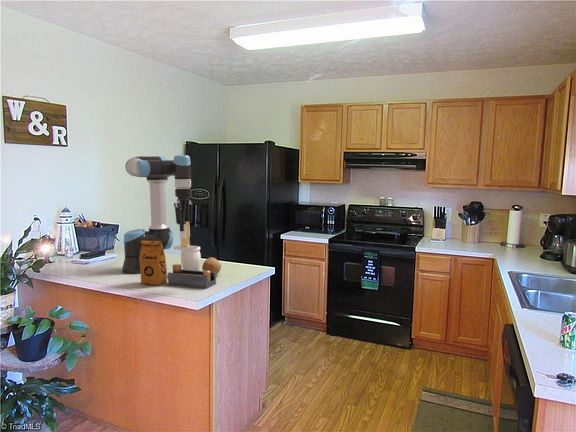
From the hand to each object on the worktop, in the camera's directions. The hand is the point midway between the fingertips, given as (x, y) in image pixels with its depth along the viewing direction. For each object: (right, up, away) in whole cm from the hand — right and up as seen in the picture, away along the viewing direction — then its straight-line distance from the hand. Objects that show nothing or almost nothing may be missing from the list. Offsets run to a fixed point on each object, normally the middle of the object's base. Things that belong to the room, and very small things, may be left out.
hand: (185, 237), depth 203 cm
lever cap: (0, -6, +1) cm, 6 cm away
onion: (+8, -22, +26) cm, 35 cm away
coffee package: (-18, -24, +12) cm, 33 cm away
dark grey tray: (+1, -24, +9) cm, 26 cm away
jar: (-4, -22, +29) cm, 37 cm away
